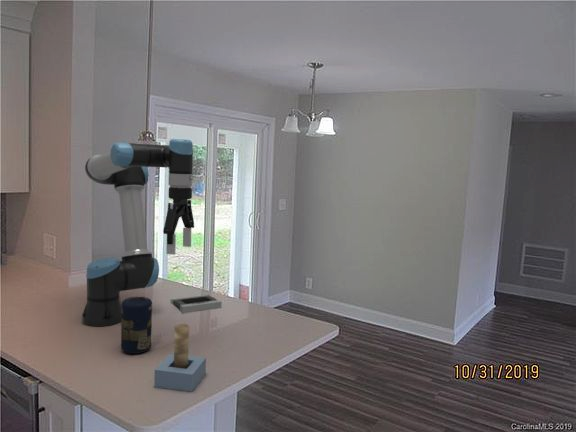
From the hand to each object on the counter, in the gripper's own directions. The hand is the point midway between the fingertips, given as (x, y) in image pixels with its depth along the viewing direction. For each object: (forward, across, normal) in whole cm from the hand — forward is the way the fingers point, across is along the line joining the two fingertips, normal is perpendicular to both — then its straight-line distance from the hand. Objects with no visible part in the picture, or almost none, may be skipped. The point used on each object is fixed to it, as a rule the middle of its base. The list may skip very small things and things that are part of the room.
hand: (179, 250), depth 153 cm
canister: (+33, -8, +11) cm, 36 cm away
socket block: (+33, -24, -11) cm, 42 cm away
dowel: (+32, -24, -11) cm, 41 cm away
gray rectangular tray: (+34, +41, +9) cm, 54 cm away
